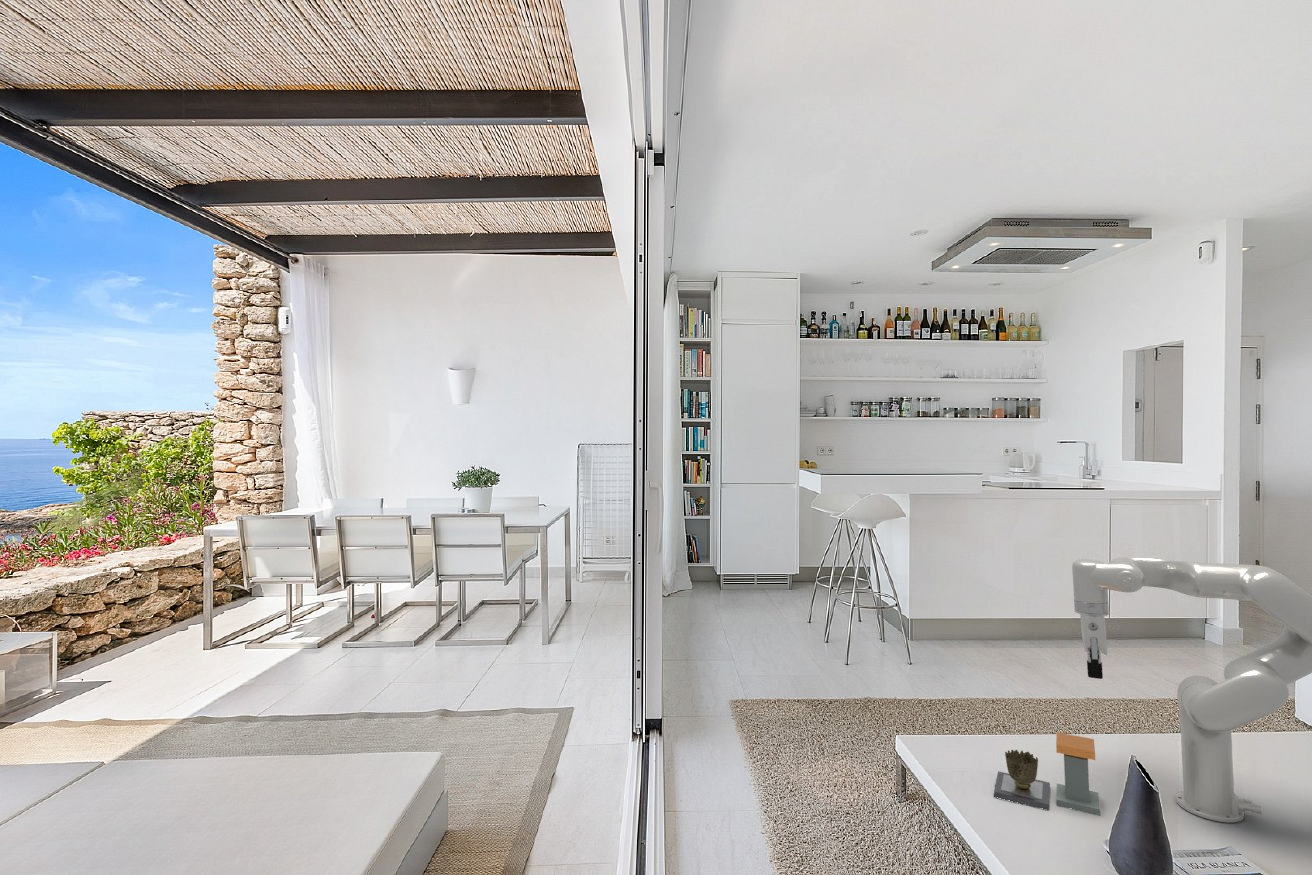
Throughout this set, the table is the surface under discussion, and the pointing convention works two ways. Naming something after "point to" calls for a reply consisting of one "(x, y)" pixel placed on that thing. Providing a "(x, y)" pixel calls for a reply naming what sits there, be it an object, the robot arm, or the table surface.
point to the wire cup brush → (1022, 768)
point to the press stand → (1077, 787)
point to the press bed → (1022, 791)
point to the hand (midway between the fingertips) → (1095, 677)
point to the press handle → (1075, 746)
